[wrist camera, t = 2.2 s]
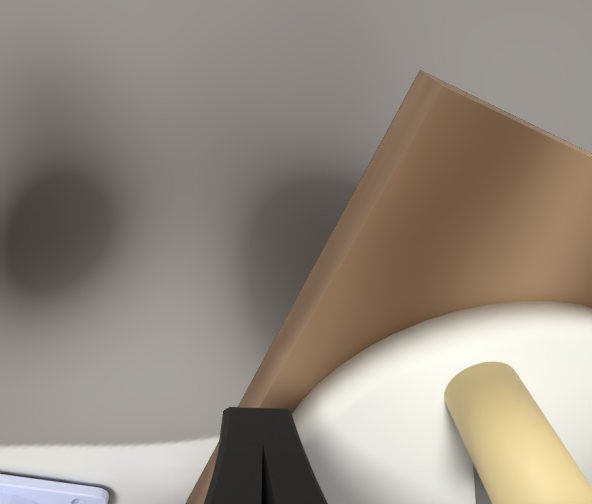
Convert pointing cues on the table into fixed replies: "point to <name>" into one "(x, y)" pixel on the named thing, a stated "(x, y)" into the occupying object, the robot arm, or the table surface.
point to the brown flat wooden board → (435, 238)
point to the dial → (460, 411)
